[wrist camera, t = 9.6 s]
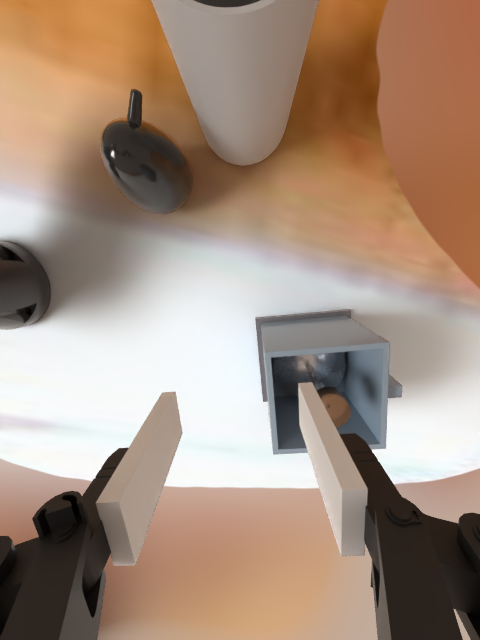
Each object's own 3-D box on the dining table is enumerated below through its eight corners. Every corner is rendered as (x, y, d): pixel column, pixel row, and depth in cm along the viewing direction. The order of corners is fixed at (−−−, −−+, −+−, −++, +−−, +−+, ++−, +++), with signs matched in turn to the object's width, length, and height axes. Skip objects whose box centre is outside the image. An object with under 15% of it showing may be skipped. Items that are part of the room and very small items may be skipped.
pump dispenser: (208, 163, 39) (182, 105, 24) (184, 228, 41) (147, 212, 26) (146, 134, 38) (80, 56, 23) (126, 202, 41) (54, 170, 26)
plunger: (275, 399, 44) (285, 457, 31) (270, 335, 41) (279, 370, 28) (344, 394, 43) (383, 452, 30) (343, 328, 40) (386, 362, 27)
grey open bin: (263, 399, 48) (267, 459, 34) (255, 317, 44) (257, 346, 30) (357, 392, 47) (404, 452, 32) (358, 308, 43) (411, 333, 29)
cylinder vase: (194, 156, 39) (97, -17, 14) (211, 58, 36) (125, -370, 11) (273, 176, 39) (309, 40, 14) (297, 81, 36) (393, -292, 11)
